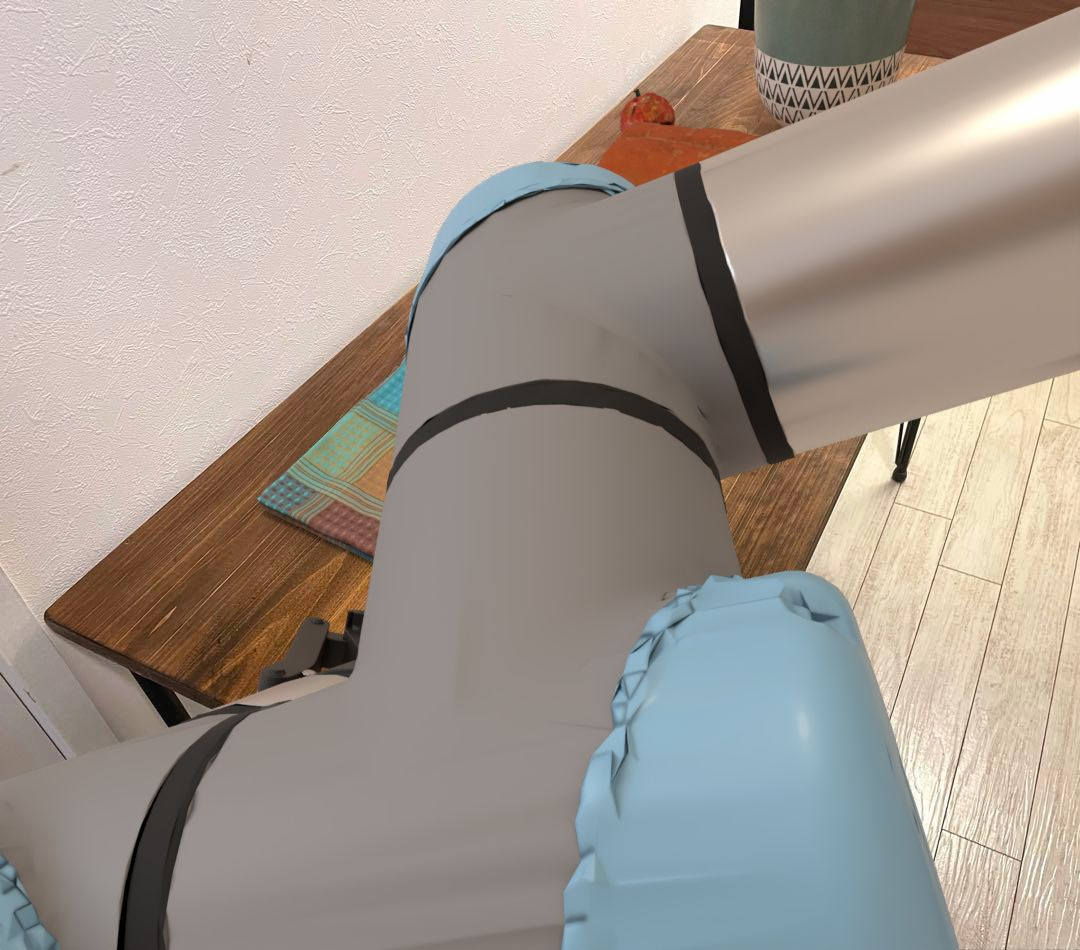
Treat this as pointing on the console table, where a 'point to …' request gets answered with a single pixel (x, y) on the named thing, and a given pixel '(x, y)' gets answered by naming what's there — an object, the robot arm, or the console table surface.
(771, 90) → the planter
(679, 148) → the bread
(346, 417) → the dish towel
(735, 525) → the console table surface
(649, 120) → the red round fruit
